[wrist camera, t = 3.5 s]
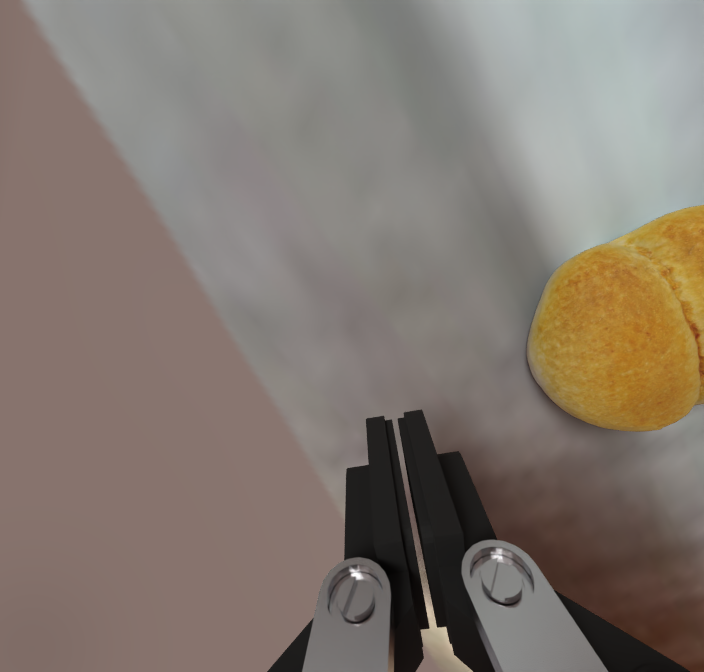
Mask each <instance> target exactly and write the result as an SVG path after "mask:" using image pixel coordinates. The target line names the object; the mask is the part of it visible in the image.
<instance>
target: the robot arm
mask: <svg viewBox="0 0 704 672" xmlns="http://www.w3.org/2000/svg"><path fill="white" fill-rule="evenodd" d="M398 424H399V430H400V436H401V441H402V447H403V453H404V459H405V464H406V470H407V476H408V482H409V487H410V493H411V498H412V503H413V508H414V513H415V518H416V523H417V528H418V533H419V539H420V544H421V549H422V554H423V559H424V564H425V569H426V574H427V579H428V584H429V589H430V594H431V599H432V604H433V609H434V614H435V619H436V624H437V628H438V627H446V628H447V632H448V637H449V641H450V644H452V647H453V651H454V655H455V656H456V657H458V658H459V659H460V660H461V661H462V662H463V663H464V664H465V665H467V666H468V667H469V668H470V669H471V670H472V671H473V672H690V671H688V670H687V669H685V668H684V667H682V666H681V665H679V664H677V663H676V662H674V661H672V660H671V659H669V658H667V657H666V656H664V655H662V654H660V653H659V652H657V651H655V650H654V649H652V648H650V647H649V646H647V645H645V644H644V643H642V642H640V641H639V640H637V639H635V638H634V637H632V636H630V635H629V634H627V633H625V632H624V631H622V630H620V629H619V628H617V627H615V626H614V625H612V624H610V623H609V622H607V621H605V620H604V619H602V618H600V617H599V616H597V615H595V614H593V613H592V612H590V611H588V610H587V609H585V608H583V607H582V606H580V605H578V604H577V603H575V602H573V601H572V600H570V599H568V598H567V597H565V596H563V595H562V594H560V593H558V592H557V591H555V590H553V589H552V587H551V586H550V584H549V583H548V581H547V580H546V578H545V577H544V575H543V574H542V572H541V571H540V569H539V568H538V566H537V565H536V564H535V562H534V561H533V560H532V559H531V558H530V557H529V555H528V554H527V553H525V552H524V551H522V550H521V549H520V548H518V547H517V546H515V545H512V544H510V543H508V542H505V541H500V540H497V538H496V536H495V533H494V531H493V529H492V526H491V524H490V522H489V519H488V517H487V515H486V512H485V510H484V508H483V505H482V503H481V501H480V498H479V496H478V493H477V491H476V489H475V486H474V484H473V482H472V479H471V477H470V475H469V472H468V470H467V468H466V465H465V463H464V461H463V458H462V456H461V454H460V453H459V451H457V452H450V453H444V454H437V453H436V450H435V447H434V444H433V441H432V438H431V435H430V432H429V429H428V426H427V423H426V420H425V417H424V414H423V411H422V410H416V411H410V412H404V418H398ZM366 428H367V444H368V460H369V465H365V466H359V467H352V468H347V472H346V509H345V555H344V556H345V558H344V561H343V562H341V563H339V564H338V565H336V566H335V567H334V568H333V569H332V570H331V571H330V572H329V573H328V575H327V576H326V578H325V579H324V581H323V583H322V586H321V589H320V592H319V596H318V601H317V605H316V610H315V615H314V618H313V619H312V620H311V621H310V623H309V624H308V625H307V626H306V627H305V628H304V629H303V631H302V632H301V633H300V634H299V635H298V637H297V638H296V639H295V640H294V641H293V642H292V643H291V645H290V646H289V647H288V648H287V649H286V650H285V652H284V653H283V654H282V655H281V656H280V657H279V659H278V660H277V661H276V662H275V663H274V664H273V666H272V667H271V668H270V669H269V670H268V671H267V672H416V670H417V668H418V667H419V665H420V663H421V662H422V660H423V658H424V656H423V650H422V647H423V643H422V637H421V631H420V630H421V629H429V623H428V617H427V612H426V606H425V601H424V595H423V590H422V584H421V578H420V573H419V567H418V562H417V556H416V551H415V545H414V540H413V534H412V528H411V523H410V517H409V512H408V506H407V501H406V495H405V490H404V484H403V479H402V473H401V468H400V462H399V456H398V451H397V445H396V440H395V434H394V429H393V423H392V420H386V421H385V419H384V416H380V417H373V418H367V419H366Z"/></svg>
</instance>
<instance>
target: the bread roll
mask: <svg viewBox="0 0 704 672" xmlns="http://www.w3.org/2000/svg"><path fill="white" fill-rule="evenodd" d="M527 359H528V363H529V367H530V370H531V372H532V375H533V377H534V379H535V380H536V382H537V383H538V384H539V385H540V387H541V388H542V389H543V391H544V392H545V393H546V394H547V395H548V396H549V397H550V399H551V400H552V401H553V402H554V403H555V404H557V405H558V406H559V407H560V408H561V409H563V410H564V411H566V412H567V413H569V414H570V415H572V416H574V417H576V418H578V419H581V420H583V421H585V422H587V423H589V424H592V425H595V426H598V427H602V428H607V429H614V430H621V431H636V432H638V431H652V430H659V429H662V428H663V427H665V426H668V425H670V424H672V423H675V422H677V421H678V420H680V419H681V418H683V417H684V416H686V415H687V414H688V413H689V412H690V410H691V409H692V407H693V406H694V405H699V404H704V205H701V206H695V207H689V208H684V209H681V210H678V211H675V212H672V213H669V214H666V215H664V216H662V217H659V218H657V219H655V220H653V221H651V222H649V223H647V224H645V225H643V226H641V227H640V228H638V229H636V230H634V231H632V232H630V233H628V234H626V235H624V236H622V237H619V238H617V239H615V240H613V241H611V242H609V243H606V244H601V245H598V246H595V247H593V248H590V249H588V250H586V251H584V252H582V253H580V254H578V255H576V256H574V257H573V258H571V259H569V260H568V261H566V262H565V263H563V264H562V265H561V266H560V267H558V268H557V269H556V270H555V272H554V273H553V274H552V276H551V277H550V279H549V280H548V282H547V284H546V285H545V288H544V291H543V293H542V296H541V299H540V301H539V304H538V306H537V309H536V312H535V315H534V318H533V321H532V324H531V329H530V333H529V336H528V342H527Z"/></svg>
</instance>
